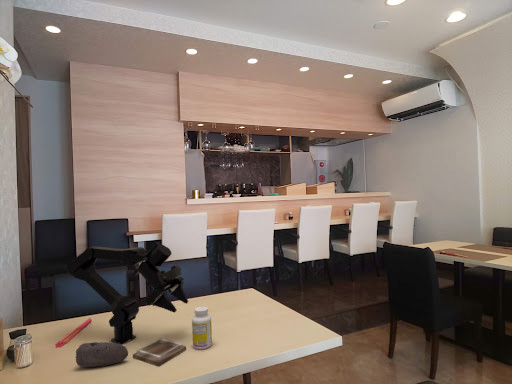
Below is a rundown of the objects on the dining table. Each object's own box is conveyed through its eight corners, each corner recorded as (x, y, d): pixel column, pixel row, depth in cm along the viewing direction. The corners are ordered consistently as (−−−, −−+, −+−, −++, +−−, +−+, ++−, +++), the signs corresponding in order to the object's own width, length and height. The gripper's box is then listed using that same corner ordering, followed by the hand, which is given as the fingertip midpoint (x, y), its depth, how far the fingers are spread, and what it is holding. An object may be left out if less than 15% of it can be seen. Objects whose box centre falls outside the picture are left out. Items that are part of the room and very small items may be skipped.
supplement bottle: (203, 339, 116) (202, 304, 117) (215, 344, 112) (214, 307, 113) (188, 346, 111) (187, 309, 112) (201, 352, 107) (200, 313, 107)
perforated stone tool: (130, 358, 104) (129, 336, 105) (126, 366, 99) (125, 343, 99) (81, 362, 102) (81, 340, 103) (74, 371, 97) (74, 348, 97)
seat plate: (132, 357, 104) (132, 351, 105) (160, 343, 115) (160, 336, 115) (159, 366, 98) (159, 359, 99) (186, 349, 109) (185, 343, 109)
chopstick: (51, 351, 114) (64, 346, 114) (49, 345, 114) (62, 340, 114) (84, 324, 138) (95, 320, 138) (83, 320, 138) (93, 316, 138)
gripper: (153, 264, 106) (184, 299, 103) (178, 254, 124) (206, 284, 122) (132, 288, 108) (163, 322, 105) (160, 274, 126) (187, 304, 123)
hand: (181, 306), depth 114 cm, fingers open, 9 cm apart
